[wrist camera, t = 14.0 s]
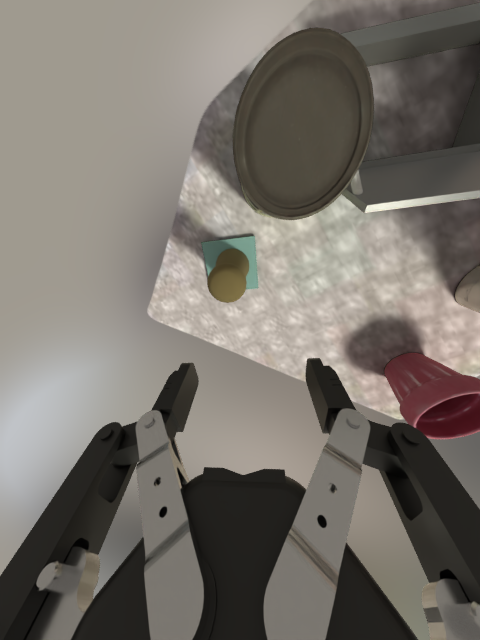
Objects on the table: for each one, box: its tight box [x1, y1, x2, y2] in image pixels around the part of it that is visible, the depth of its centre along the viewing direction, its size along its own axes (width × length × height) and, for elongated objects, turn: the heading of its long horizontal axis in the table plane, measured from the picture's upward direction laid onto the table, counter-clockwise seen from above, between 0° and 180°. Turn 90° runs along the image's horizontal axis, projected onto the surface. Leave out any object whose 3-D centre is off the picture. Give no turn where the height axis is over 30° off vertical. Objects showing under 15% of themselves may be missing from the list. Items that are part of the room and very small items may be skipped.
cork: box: [208, 248, 249, 303], centre depth 27 cm, size 6×6×11 cm
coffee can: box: [233, 28, 374, 220], centre depth 19 cm, size 10×10×14 cm
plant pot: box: [384, 353, 480, 439], centre depth 37 cm, size 14×14×13 cm
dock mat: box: [201, 236, 258, 289], centre depth 32 cm, size 9×9×1 cm
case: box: [340, 3, 480, 213], centre depth 17 cm, size 18×15×14 cm
